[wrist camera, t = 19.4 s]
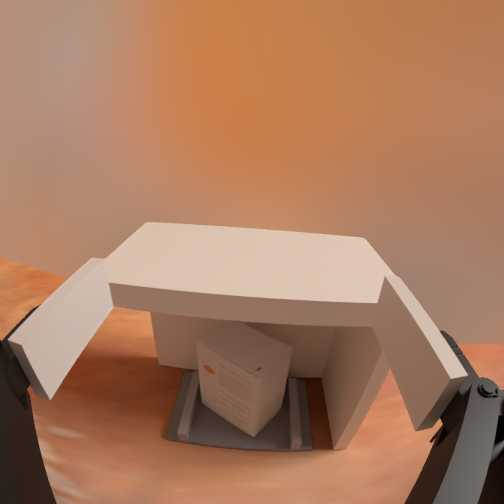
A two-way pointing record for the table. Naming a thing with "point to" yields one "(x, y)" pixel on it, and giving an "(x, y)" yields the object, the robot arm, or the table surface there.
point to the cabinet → (260, 319)
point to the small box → (242, 374)
